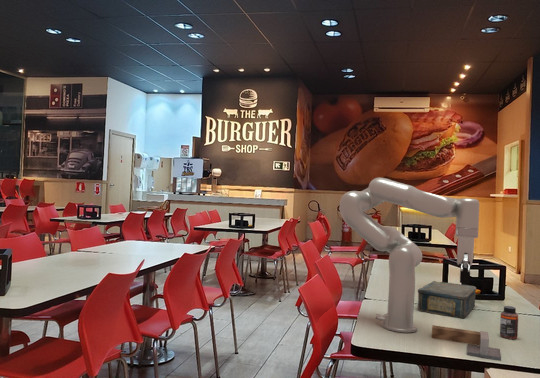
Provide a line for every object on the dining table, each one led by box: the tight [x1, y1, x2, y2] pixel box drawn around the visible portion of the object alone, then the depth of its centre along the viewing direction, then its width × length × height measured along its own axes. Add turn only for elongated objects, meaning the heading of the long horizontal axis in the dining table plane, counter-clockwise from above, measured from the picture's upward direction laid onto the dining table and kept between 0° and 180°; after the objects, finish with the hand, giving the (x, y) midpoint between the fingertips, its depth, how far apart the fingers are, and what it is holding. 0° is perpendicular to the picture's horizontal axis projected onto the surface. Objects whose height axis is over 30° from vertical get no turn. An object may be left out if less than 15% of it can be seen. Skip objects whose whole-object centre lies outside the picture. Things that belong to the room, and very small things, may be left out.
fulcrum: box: [466, 330, 502, 362], centre depth 161 cm, size 10×10×6 cm
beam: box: [431, 324, 480, 346], centre depth 174 cm, size 18×4×4 cm, turn 70°
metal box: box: [417, 280, 477, 319], centre depth 225 cm, size 21×32×10 cm, turn 150°
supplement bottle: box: [499, 305, 519, 340], centre depth 182 cm, size 6×6×11 cm
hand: (464, 281), depth 174 cm, fingers open, 9 cm apart
